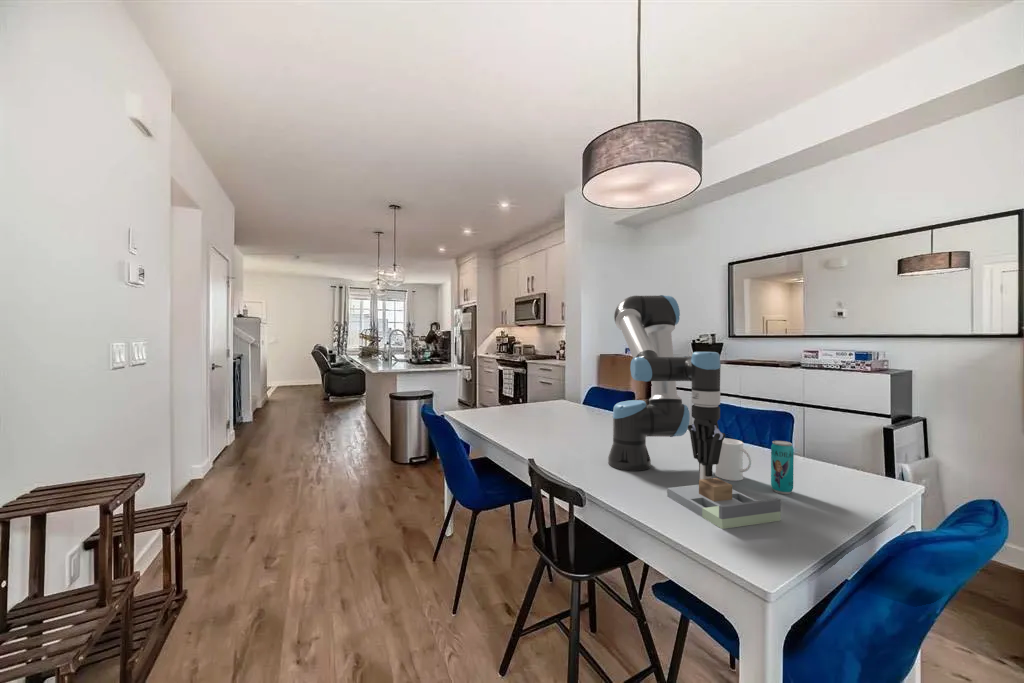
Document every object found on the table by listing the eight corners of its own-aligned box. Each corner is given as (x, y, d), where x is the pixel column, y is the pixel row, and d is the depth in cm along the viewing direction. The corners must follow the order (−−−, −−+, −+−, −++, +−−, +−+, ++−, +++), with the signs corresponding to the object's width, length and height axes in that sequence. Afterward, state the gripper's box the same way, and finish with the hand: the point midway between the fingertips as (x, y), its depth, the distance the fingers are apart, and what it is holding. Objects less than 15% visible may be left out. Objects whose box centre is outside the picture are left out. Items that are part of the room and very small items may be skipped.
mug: (758, 481, 136) (758, 445, 136) (739, 485, 133) (739, 448, 133) (727, 471, 147) (727, 437, 147) (709, 474, 144) (709, 439, 144)
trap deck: (667, 495, 124) (667, 477, 124) (718, 490, 129) (718, 472, 129) (721, 529, 103) (722, 507, 103) (780, 520, 108) (780, 499, 108)
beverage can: (768, 491, 128) (769, 442, 127) (773, 486, 132) (773, 439, 132) (791, 496, 124) (791, 446, 124) (794, 491, 128) (795, 442, 128)
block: (698, 493, 120) (698, 479, 120) (716, 491, 121) (716, 477, 121) (713, 501, 114) (713, 487, 114) (732, 499, 116) (732, 485, 116)
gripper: (680, 402, 126) (680, 480, 127) (710, 409, 114) (710, 495, 114) (701, 401, 128) (701, 477, 129) (733, 408, 116) (733, 493, 116)
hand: (705, 486), depth 121 cm, fingers closed
